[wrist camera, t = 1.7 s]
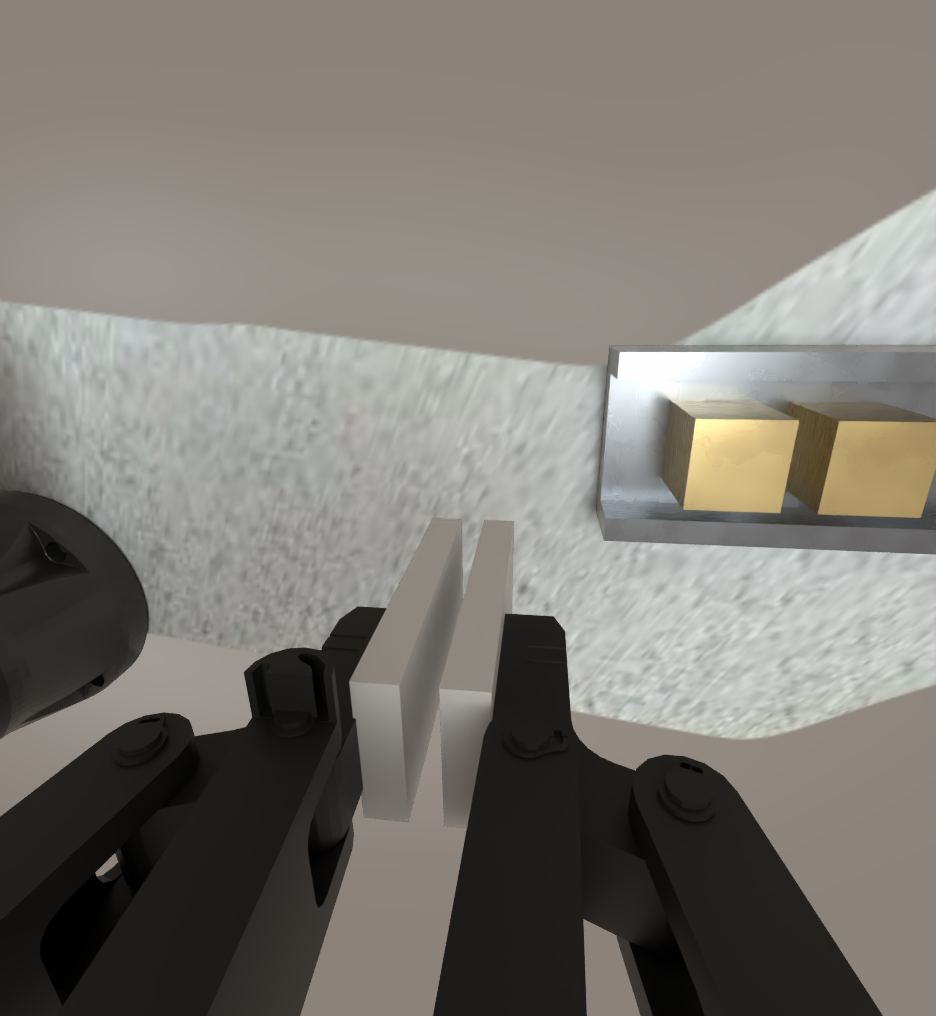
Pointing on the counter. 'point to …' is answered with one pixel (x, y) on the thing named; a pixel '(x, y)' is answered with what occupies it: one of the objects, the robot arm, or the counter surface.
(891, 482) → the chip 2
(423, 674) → the robot arm
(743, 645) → the counter surface
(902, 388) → the slot rail
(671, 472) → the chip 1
